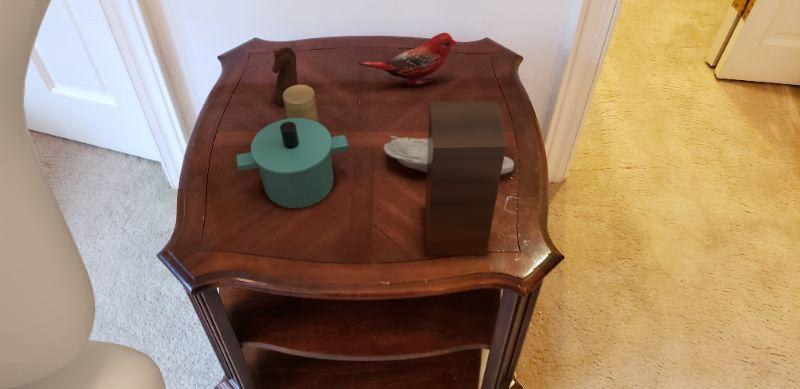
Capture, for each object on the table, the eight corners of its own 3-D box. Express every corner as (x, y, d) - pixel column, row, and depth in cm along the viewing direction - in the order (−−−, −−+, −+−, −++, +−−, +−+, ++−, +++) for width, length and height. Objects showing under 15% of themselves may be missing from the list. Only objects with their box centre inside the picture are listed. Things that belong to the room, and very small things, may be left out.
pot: (357, 196, 83) (353, 160, 77) (250, 218, 80) (238, 182, 74) (343, 150, 89) (339, 114, 84) (244, 169, 87) (233, 133, 81)
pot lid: (339, 168, 77) (336, 145, 74) (256, 185, 75) (249, 162, 72) (324, 117, 84) (321, 94, 81) (248, 131, 82) (242, 108, 79)
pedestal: (486, 254, 75) (506, 146, 60) (427, 255, 75) (433, 147, 60) (479, 210, 81) (496, 100, 66) (425, 210, 81) (429, 101, 66)
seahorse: (504, 132, 90) (382, 124, 87) (526, 161, 80) (390, 153, 77) (498, 160, 93) (379, 154, 90) (519, 192, 83) (386, 186, 80)
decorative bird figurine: (456, 84, 101) (460, 36, 94) (360, 97, 99) (357, 48, 91) (452, 75, 103) (455, 27, 95) (358, 87, 100) (354, 39, 93)
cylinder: (319, 147, 90) (312, 103, 83) (289, 148, 90) (280, 104, 83) (322, 128, 93) (315, 84, 86) (293, 128, 93) (284, 84, 86)
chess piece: (270, 98, 98) (259, 50, 91) (292, 85, 101) (283, 37, 94) (287, 109, 96) (278, 60, 89) (309, 96, 99) (301, 47, 91)
